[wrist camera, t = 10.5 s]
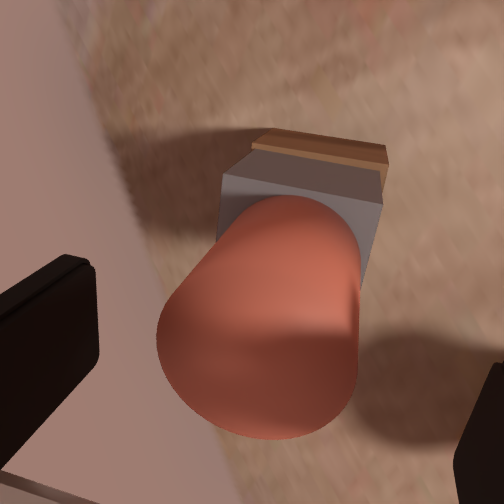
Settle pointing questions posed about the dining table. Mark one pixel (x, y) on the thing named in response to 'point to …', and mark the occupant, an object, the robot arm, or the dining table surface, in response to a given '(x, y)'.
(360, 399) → the dining table surface
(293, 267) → the cylinder
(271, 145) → the tower base
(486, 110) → the dining table surface
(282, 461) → the dining table surface
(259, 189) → the tower top
